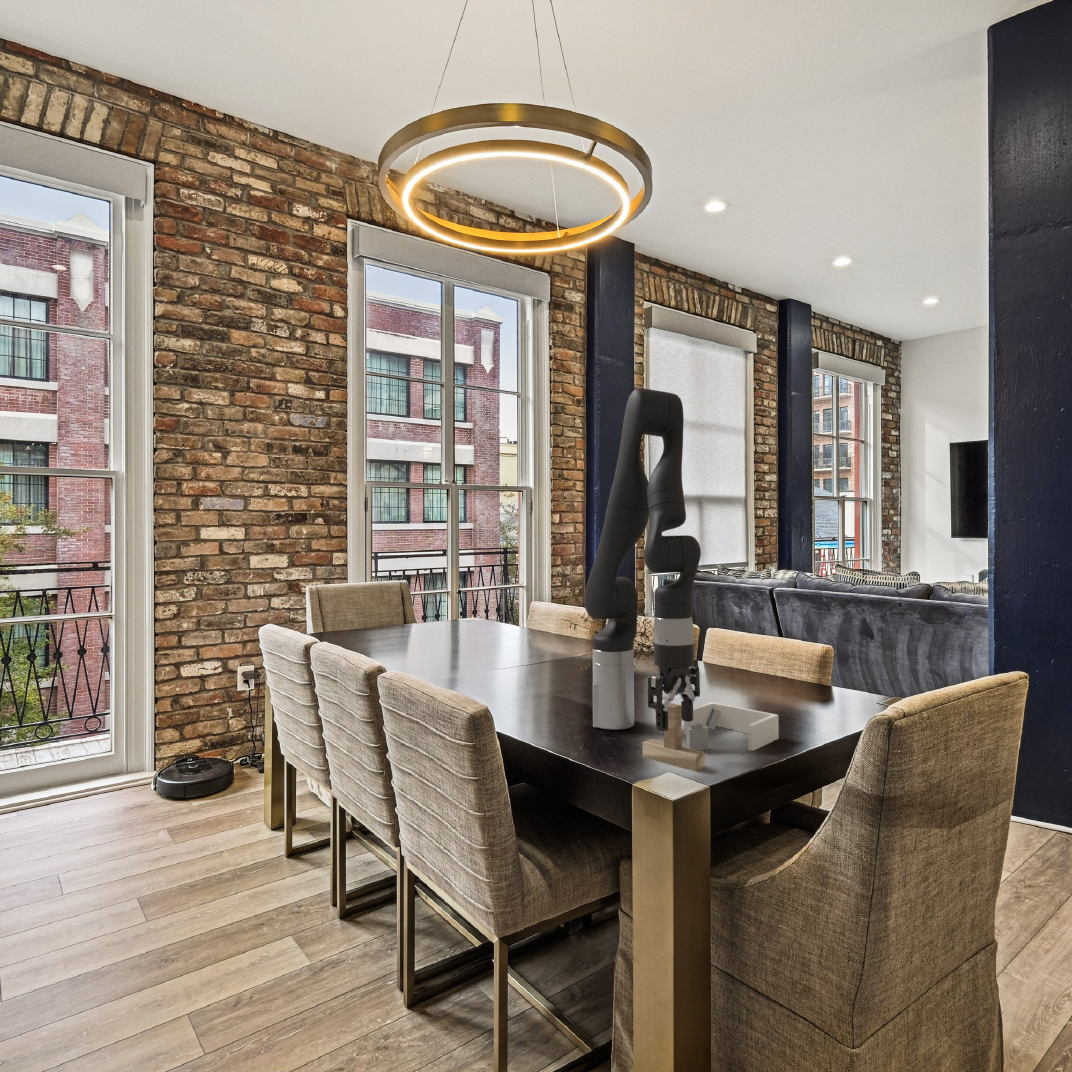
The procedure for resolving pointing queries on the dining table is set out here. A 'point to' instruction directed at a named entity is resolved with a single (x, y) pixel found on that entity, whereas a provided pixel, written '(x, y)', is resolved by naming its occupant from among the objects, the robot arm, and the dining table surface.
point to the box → (741, 722)
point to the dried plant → (634, 640)
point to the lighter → (701, 731)
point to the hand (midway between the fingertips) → (675, 725)
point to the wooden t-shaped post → (674, 745)
